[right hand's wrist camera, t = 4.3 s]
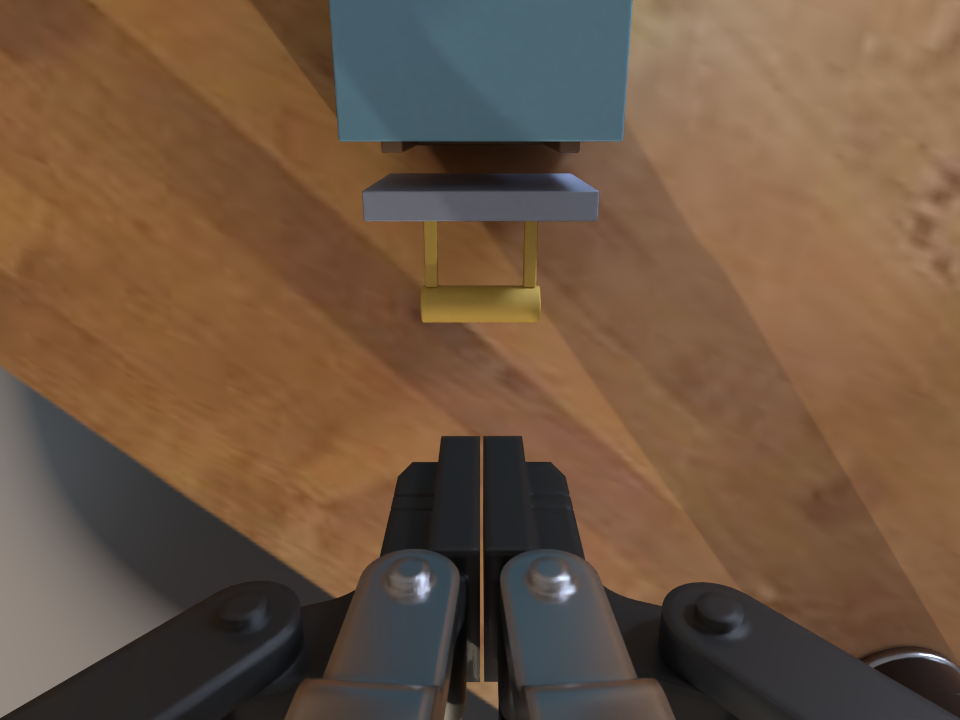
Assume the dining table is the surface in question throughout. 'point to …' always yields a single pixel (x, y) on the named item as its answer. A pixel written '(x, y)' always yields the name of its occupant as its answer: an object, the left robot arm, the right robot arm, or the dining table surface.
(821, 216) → the dining table surface
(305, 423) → the dining table surface
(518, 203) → the drawer
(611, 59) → the cabinet
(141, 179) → the dining table surface
